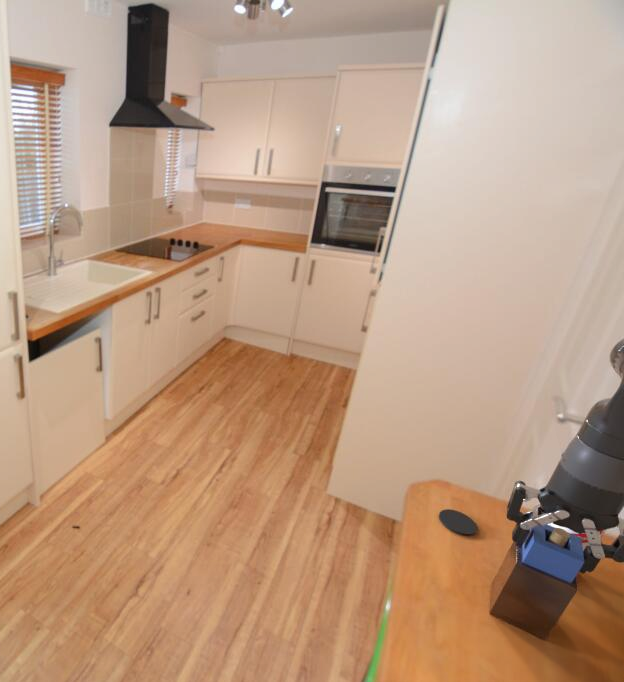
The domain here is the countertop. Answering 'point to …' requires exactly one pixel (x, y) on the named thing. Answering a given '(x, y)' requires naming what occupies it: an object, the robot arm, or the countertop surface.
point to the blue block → (553, 554)
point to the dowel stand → (530, 592)
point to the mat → (458, 522)
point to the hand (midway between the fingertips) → (548, 555)
